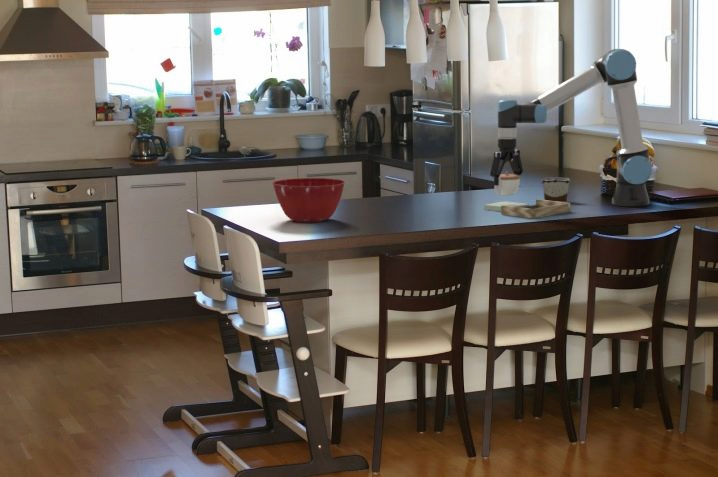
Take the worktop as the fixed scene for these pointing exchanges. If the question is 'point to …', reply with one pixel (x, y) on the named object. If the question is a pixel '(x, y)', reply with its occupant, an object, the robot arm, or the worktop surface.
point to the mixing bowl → (309, 198)
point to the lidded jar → (509, 183)
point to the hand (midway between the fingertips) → (506, 191)
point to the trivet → (498, 205)
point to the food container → (556, 188)
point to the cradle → (537, 209)
